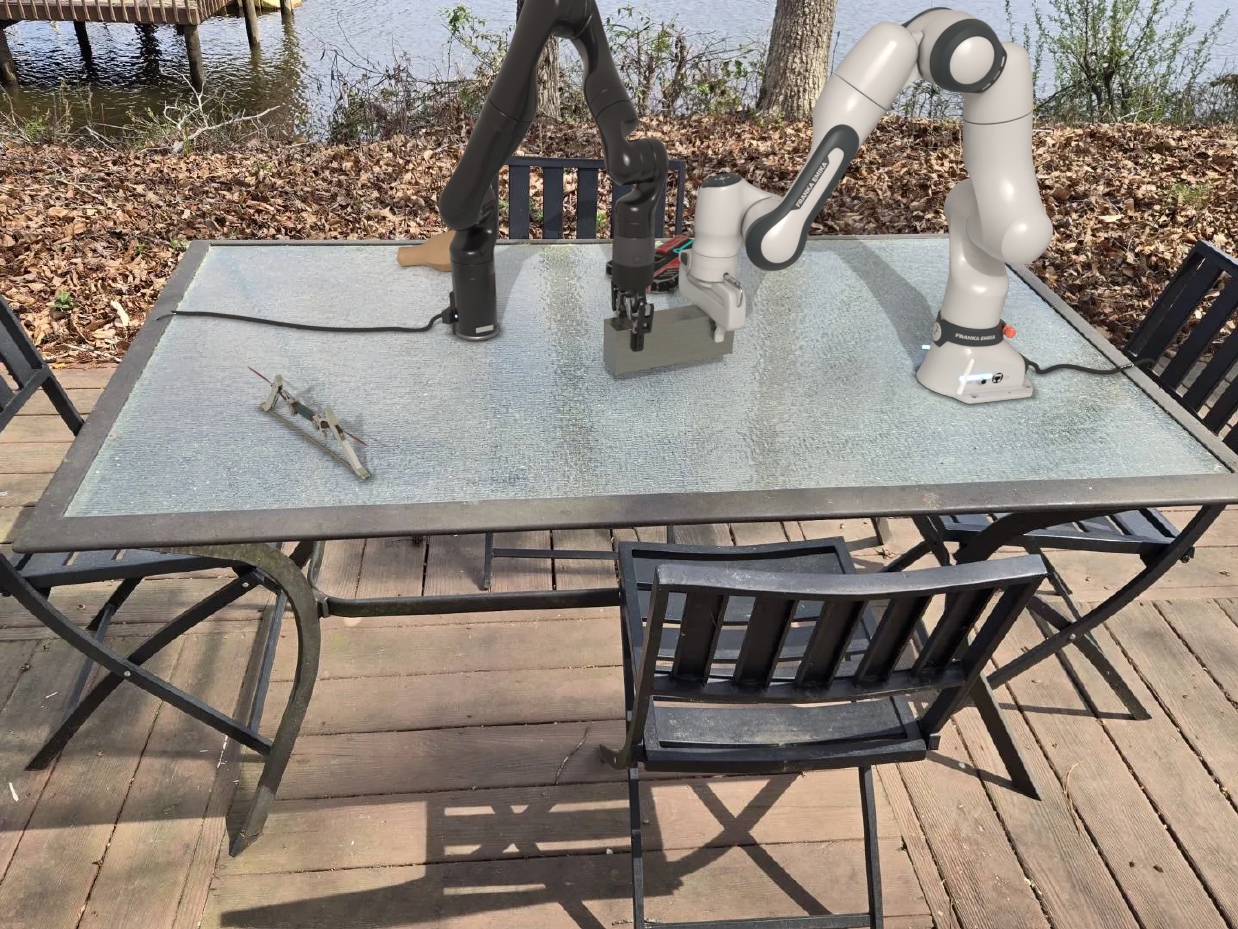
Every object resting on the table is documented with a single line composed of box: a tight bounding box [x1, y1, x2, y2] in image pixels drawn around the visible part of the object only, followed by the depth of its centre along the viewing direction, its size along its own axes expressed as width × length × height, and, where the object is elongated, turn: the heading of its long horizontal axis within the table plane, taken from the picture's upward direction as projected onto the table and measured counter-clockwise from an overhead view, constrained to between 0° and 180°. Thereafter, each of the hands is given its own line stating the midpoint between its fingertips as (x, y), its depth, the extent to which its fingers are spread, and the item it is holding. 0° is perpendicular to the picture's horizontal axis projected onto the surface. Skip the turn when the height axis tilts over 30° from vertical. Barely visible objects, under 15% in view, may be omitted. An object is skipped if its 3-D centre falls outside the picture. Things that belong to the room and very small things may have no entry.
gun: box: [605, 234, 695, 295], centre depth 225 cm, size 4×31×19 cm
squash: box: [396, 229, 456, 273], centre depth 222 cm, size 11×20×9 cm, turn 90°
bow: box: [247, 365, 371, 480], centre depth 151 cm, size 39×2×10 cm, turn 47°
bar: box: [602, 304, 736, 375], centre depth 167 cm, size 25×6×9 cm, turn 114°
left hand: (630, 343), depth 164 cm, fingers closed on bar, 6 cm apart
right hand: (708, 332), depth 170 cm, fingers closed on bar, 6 cm apart
